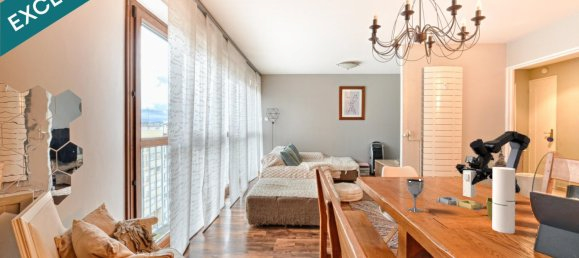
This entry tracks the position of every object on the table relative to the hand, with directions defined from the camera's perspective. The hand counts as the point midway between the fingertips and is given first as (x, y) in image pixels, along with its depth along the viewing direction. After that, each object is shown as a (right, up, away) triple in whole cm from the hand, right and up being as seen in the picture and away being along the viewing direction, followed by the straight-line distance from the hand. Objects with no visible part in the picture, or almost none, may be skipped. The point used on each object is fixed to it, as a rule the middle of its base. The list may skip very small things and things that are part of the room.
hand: (467, 183), depth 137 cm
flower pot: (+2, -13, -18) cm, 23 cm away
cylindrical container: (-5, -13, -29) cm, 32 cm away
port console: (-1, -13, +4) cm, 13 cm away
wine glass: (-28, -13, -3) cm, 31 cm away
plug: (+1, -7, +1) cm, 7 cm away
